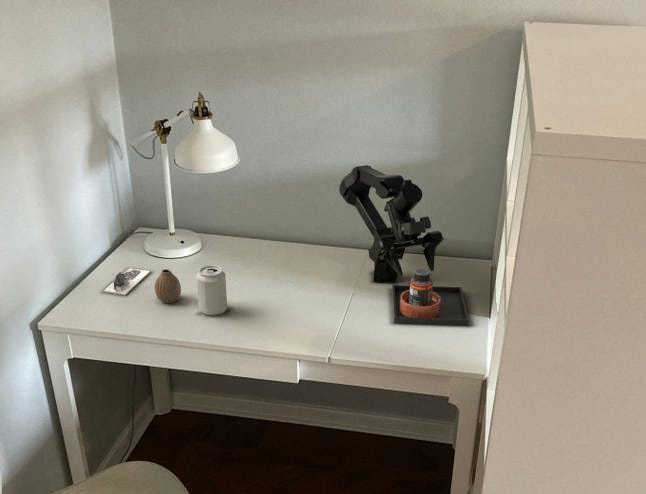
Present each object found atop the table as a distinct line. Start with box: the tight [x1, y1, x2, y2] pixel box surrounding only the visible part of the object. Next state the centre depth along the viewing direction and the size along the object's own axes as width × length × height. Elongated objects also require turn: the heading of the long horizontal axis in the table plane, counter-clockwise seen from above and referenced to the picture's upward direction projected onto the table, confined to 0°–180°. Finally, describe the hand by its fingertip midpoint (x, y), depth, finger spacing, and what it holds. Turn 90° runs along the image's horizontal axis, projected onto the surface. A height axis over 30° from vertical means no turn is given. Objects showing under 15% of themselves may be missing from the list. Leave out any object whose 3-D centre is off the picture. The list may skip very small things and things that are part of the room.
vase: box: [154, 268, 182, 304], centre depth 213 cm, size 7×7×9 cm
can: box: [196, 264, 228, 317], centre depth 208 cm, size 8×8×12 cm
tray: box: [391, 284, 470, 327], centre depth 215 cm, size 19×19×2 cm
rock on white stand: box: [103, 267, 151, 296], centre depth 223 cm, size 15×7×4 cm, turn 165°
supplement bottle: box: [409, 268, 434, 307], centre depth 210 cm, size 6×6×11 cm
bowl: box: [400, 290, 441, 318], centre depth 212 cm, size 11×11×4 cm
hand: (417, 273), depth 210 cm, fingers open, 9 cm apart
